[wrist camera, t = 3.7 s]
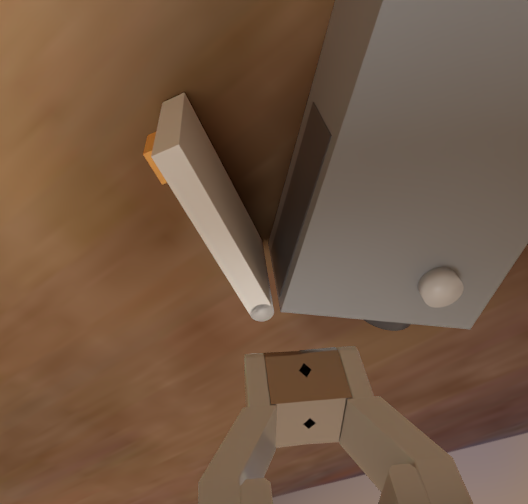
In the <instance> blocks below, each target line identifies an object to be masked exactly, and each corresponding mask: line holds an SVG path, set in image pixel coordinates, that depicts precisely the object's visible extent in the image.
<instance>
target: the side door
mask: <svg viewBox="0 0 528 504" xmlns="http://www.w3.org/2000/svg"><path fill="white" fill-rule="evenodd" d="M143 155H144V157H145V158H146V160H147V162H148V163H149V165H150V166H151V168H152V169H153V171H154V173H155V174H156V176H157V177H158V179H159V180H160V182H161V184H162V185H163V184H165V183H168V185H169V186H170V188H171V189H172V191H173V193H174V194H175V196H176V197H177V199H178V201H179V202H180V204H181V205H182V207H183V209H184V210H185V212H186V213H187V215H188V217H189V218H190V220H191V221H192V223H193V225H194V226H195V228H196V229H197V231H198V233H199V234H200V236H201V237H202V239H203V241H204V242H205V244H206V245H207V247H208V249H209V250H210V252H211V253H212V255H213V257H214V258H215V260H216V261H217V263H218V265H219V266H220V268H221V269H222V271H223V273H224V274H225V276H226V277H227V279H228V281H229V282H230V284H231V285H232V287H233V289H234V290H235V292H236V293H237V295H238V297H239V298H240V300H241V301H242V303H243V305H244V306H245V308H246V309H247V311H248V313H249V314H250V315H251V317H252V318H253V319H254V320H256V321H266V320H268V319H270V318H271V317H272V316H273V314H274V309H273V303H272V297H271V291H270V285H269V279H268V273H267V267H266V261H265V254H264V248H263V242H262V239H261V238H260V235H259V233H258V232H257V230H256V228H255V226H254V224H253V222H252V220H251V218H250V216H249V214H248V212H247V211H246V209H245V207H244V205H243V203H242V201H241V199H240V197H239V195H238V193H237V192H236V190H235V188H234V186H233V184H232V182H231V180H230V178H229V176H228V174H227V172H226V171H225V169H224V167H223V165H222V163H221V161H220V159H219V157H218V155H217V153H216V151H215V150H214V148H213V146H212V144H211V142H210V140H209V138H208V136H207V134H206V132H205V130H204V129H203V127H202V125H201V123H200V121H199V119H198V117H197V115H196V113H195V111H194V109H193V108H192V106H191V104H190V102H189V100H188V98H187V96H186V94H185V92H184V93H182V94H180V95H178V96H176V97H173V98H171V99H169V100H167V101H165V102H163V103H162V107H161V112H160V117H159V121H158V126H157V131H156V132H154V133H152V134H149V135H148V136H147V140H146V144H145V148H144V152H143Z"/></svg>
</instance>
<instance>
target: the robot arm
mask: <svg viewBox="0 0 528 504" xmlns="http://www.w3.org/2000/svg"><path fill="white" fill-rule="evenodd" d="M244 376H245V400H246V408H243V409H242V410H241V412H240V414H239V415H238V417H237V419H236V420H235V422H234V424H233V425H232V427H231V429H230V430H229V432H228V434H227V435H226V437H225V439H224V440H223V442H222V444H221V446H220V447H219V449H218V451H217V452H216V454H215V456H214V457H213V459H212V461H211V462H210V464H209V466H208V467H207V469H206V471H205V472H204V474H203V476H202V477H201V479H200V481H199V486H198V504H273V500H272V492H271V484H270V482H269V481H268V480H266V479H265V478H264V475H265V473H266V471H267V469H268V466H269V464H270V462H271V459H272V457H273V455H274V453H275V450H276V448H279V447H287V446H295V445H304V444H316V443H331V442H340V443H339V444H340V445H341V446H342V447H343V448H344V450H345V451H346V452H347V453H348V454H349V455H350V456H351V458H352V459H353V460H354V461H355V462H356V463H357V465H358V466H359V467H360V468H361V469H362V470H363V472H364V473H365V474H366V475H367V476H368V477H369V479H370V480H371V481H372V482H373V483H374V484H375V485H376V487H377V488H378V489H379V490H380V491H381V497H380V500H379V503H378V504H473V502H472V500H471V497H470V495H469V493H468V491H467V489H466V486H465V484H464V482H463V480H462V478H461V475H460V473H459V471H458V469H457V466H456V464H455V462H454V460H453V458H452V457H451V456H450V455H449V454H447V453H446V452H445V451H444V450H443V449H442V448H440V447H439V446H438V445H437V444H436V443H434V442H433V441H432V440H431V439H430V438H429V437H427V436H426V435H425V434H424V433H423V432H421V431H420V430H419V429H418V428H417V427H416V426H414V425H413V424H412V423H411V422H410V421H408V420H407V419H406V418H405V417H404V416H403V415H401V414H400V413H399V412H398V411H397V410H395V409H394V408H393V407H392V406H391V405H389V404H388V403H387V402H386V401H385V400H384V399H382V398H381V397H380V396H374V395H373V392H372V389H371V386H370V383H369V380H368V377H367V375H366V372H365V369H364V366H363V363H362V360H361V358H360V355H359V352H358V349H357V348H356V347H355V346H349V347H337V348H335V347H333V348H322V349H311V350H300V351H291V352H271V353H256V354H244Z"/></svg>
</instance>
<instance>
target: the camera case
mask: <svg viewBox="0 0 528 504" xmlns="http://www.w3.org/2000/svg"><path fill="white" fill-rule="evenodd" d="M527 244H528V0H335V3H334V6H333V10H332V14H331V17H330V21H329V25H328V28H327V32H326V36H325V39H324V43H323V46H322V50H321V54H320V57H319V61H318V65H317V68H316V72H315V75H314V79H313V83H312V86H311V90H310V94H309V97H308V101H307V104H306V108H305V112H304V115H303V119H302V123H301V126H300V130H299V133H298V137H297V141H296V144H295V148H294V152H293V155H292V159H291V162H290V166H289V170H288V173H287V177H286V181H285V184H284V188H283V192H282V195H281V199H280V202H279V206H278V210H277V213H276V217H275V221H274V224H273V228H272V231H271V235H270V239H269V242H268V245H269V250H270V256H271V261H272V267H273V272H274V278H275V283H276V289H277V294H278V300H279V305H280V311H281V312H288V313H299V314H310V315H320V316H331V317H342V318H353V319H363V320H365V321H366V322H368V323H369V324H371V325H373V326H376V327H378V328H381V329H385V330H391V331H397V330H403V329H405V328H407V327H408V326H410V324H418V325H429V326H440V327H451V328H462V329H471V327H472V326H473V324H474V323H475V321H476V320H477V318H478V317H479V315H480V314H481V312H482V311H483V309H484V308H485V306H486V305H487V303H488V302H489V300H490V299H491V297H492V296H493V294H494V293H495V291H496V290H497V288H498V287H499V285H500V284H501V282H502V281H503V279H504V278H505V276H506V275H507V273H508V272H509V270H510V269H511V268H512V266H513V265H514V263H515V262H516V260H517V259H518V257H519V256H520V254H521V253H522V251H523V250H524V248H525V247H526V245H527Z"/></svg>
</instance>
